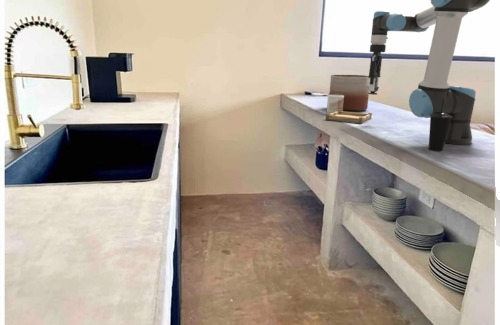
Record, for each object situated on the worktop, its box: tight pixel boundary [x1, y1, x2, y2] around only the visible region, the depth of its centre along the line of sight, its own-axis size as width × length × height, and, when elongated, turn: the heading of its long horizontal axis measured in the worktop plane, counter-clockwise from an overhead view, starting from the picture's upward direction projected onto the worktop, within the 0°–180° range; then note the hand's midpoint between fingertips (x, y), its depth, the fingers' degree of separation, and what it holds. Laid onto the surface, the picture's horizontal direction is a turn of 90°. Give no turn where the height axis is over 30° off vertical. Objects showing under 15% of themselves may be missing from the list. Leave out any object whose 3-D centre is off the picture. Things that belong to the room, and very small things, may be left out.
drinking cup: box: [428, 98, 452, 152], centre depth 142 cm, size 8×8×20 cm
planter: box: [328, 74, 370, 113], centre depth 244 cm, size 25×25×22 cm
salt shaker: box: [367, 73, 380, 96], centre depth 193 cm, size 6×6×12 cm
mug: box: [326, 94, 344, 114], centre depth 229 cm, size 10×12×11 cm
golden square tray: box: [325, 110, 373, 125], centre depth 210 cm, size 20×20×3 cm
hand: (372, 90), depth 194 cm, fingers closed on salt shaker, 6 cm apart
